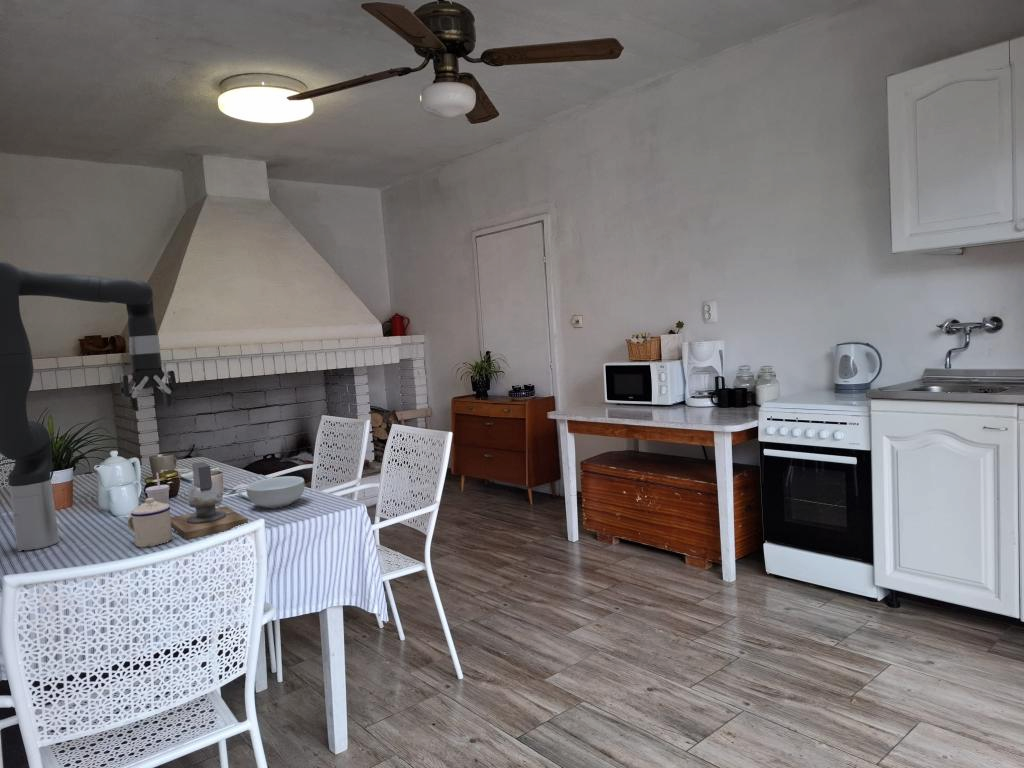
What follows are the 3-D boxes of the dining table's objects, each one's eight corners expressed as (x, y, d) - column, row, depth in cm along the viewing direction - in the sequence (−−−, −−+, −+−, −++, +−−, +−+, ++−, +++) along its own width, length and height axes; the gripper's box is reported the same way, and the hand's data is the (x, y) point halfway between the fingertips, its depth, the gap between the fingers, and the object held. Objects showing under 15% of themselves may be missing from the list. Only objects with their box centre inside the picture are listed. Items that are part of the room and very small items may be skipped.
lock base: (185, 539, 181) (183, 517, 181) (168, 525, 197) (165, 504, 196) (248, 525, 191) (245, 504, 191) (226, 512, 207) (224, 493, 206)
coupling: (223, 503, 192) (219, 464, 191) (192, 509, 188) (188, 469, 187) (216, 497, 200) (212, 459, 199) (186, 502, 196) (181, 464, 195)
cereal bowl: (236, 512, 207) (233, 488, 207) (271, 497, 223) (269, 475, 222) (284, 513, 202) (281, 489, 201) (317, 498, 217) (315, 476, 217)
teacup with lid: (181, 536, 185) (176, 493, 183) (156, 548, 176) (151, 503, 175) (144, 536, 188) (139, 494, 186) (117, 547, 179) (111, 503, 178)
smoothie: (163, 522, 200) (157, 475, 199) (143, 522, 202) (138, 475, 200) (177, 516, 207) (172, 470, 205) (159, 516, 208) (153, 470, 207)
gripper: (123, 354, 188) (130, 413, 189) (176, 350, 198) (182, 406, 200) (112, 354, 193) (119, 412, 194) (165, 350, 203) (172, 405, 205)
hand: (151, 409), depth 197 cm, fingers open, 8 cm apart
